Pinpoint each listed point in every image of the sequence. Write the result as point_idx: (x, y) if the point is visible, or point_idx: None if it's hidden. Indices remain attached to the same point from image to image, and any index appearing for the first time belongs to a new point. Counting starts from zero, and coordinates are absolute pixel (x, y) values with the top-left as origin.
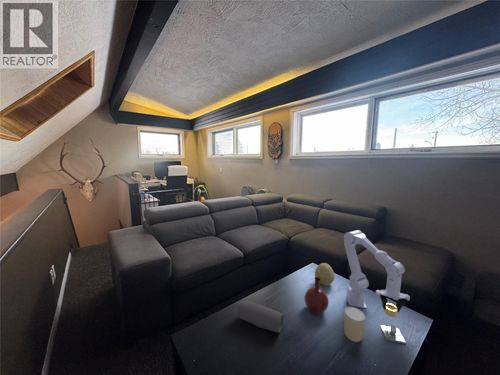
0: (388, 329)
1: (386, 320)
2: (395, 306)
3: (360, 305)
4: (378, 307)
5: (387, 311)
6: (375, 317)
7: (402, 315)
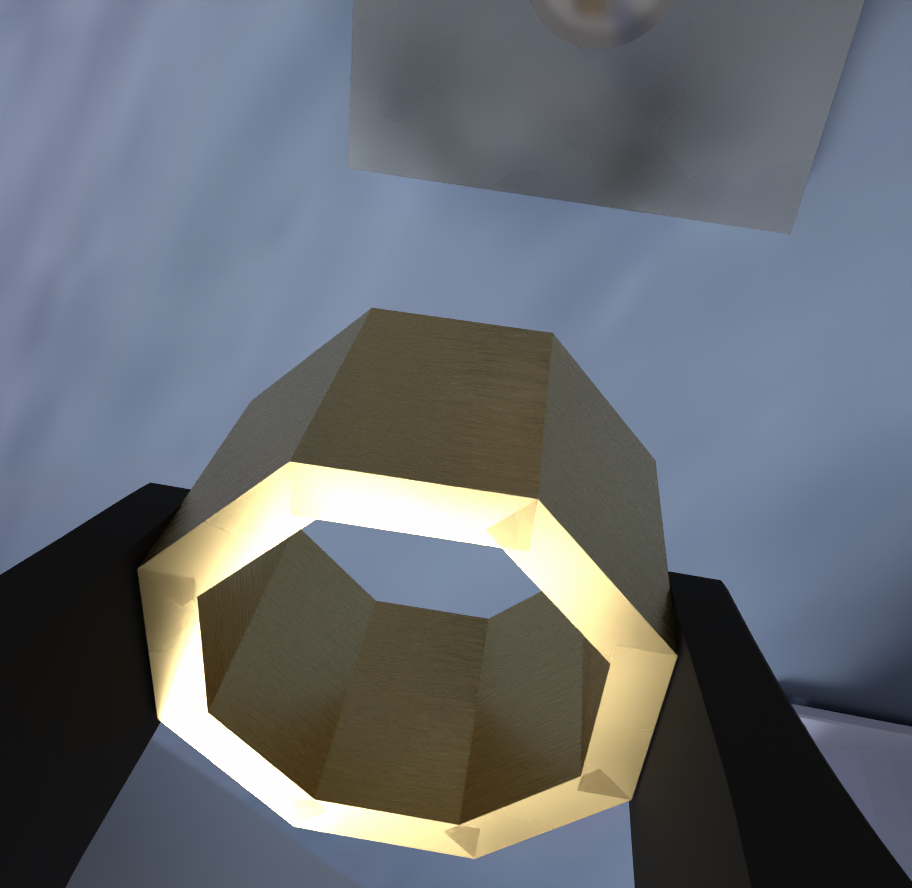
0: (648, 90)
1: None
2: (181, 708)
3: (893, 761)
4: None
5: (621, 502)
6: (711, 488)
7: None
